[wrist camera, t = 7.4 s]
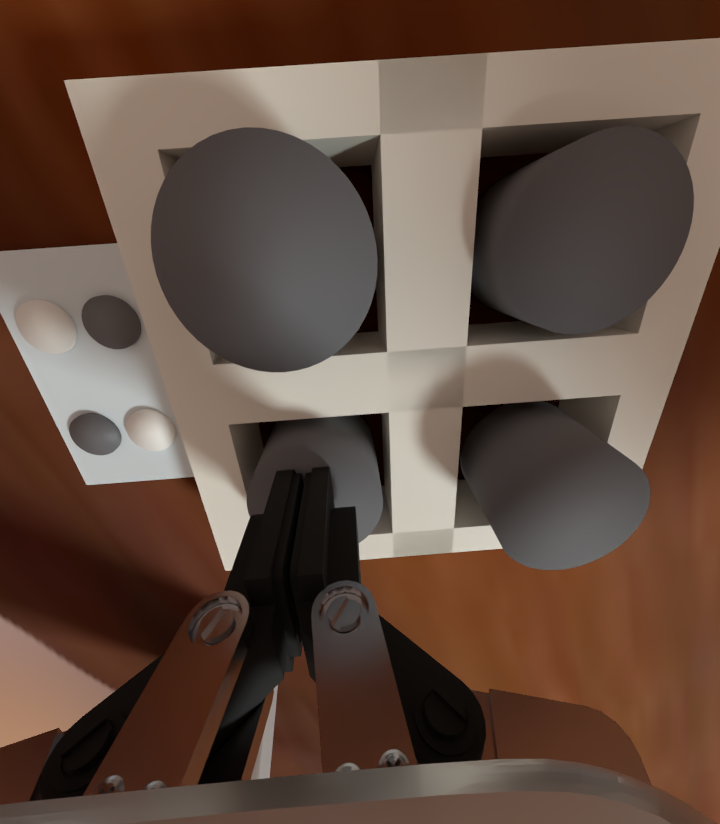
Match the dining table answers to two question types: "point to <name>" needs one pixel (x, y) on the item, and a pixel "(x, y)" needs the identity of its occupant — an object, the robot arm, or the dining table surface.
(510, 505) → the button
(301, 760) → the dining table surface
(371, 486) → the button
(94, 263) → the card
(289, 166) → the button camera
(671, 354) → the board
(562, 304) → the camera button
